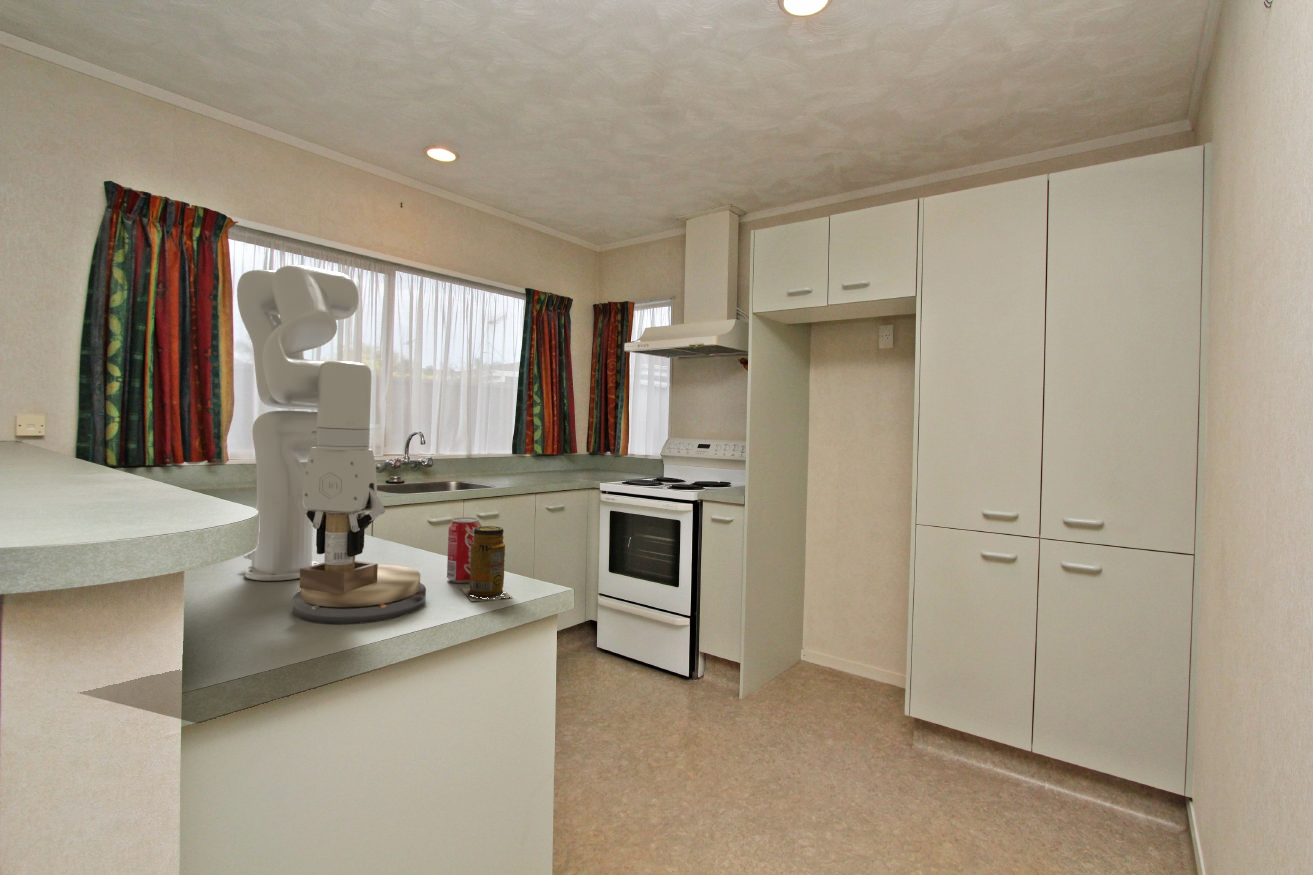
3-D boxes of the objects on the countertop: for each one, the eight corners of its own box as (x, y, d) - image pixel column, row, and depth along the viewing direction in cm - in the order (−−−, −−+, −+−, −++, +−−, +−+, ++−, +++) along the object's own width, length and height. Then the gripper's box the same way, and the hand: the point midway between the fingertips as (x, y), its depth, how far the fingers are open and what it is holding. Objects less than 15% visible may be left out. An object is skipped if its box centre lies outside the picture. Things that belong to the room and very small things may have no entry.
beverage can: (484, 577, 123) (487, 517, 123) (472, 585, 117) (474, 522, 117) (455, 575, 124) (457, 515, 123) (441, 583, 118) (443, 520, 117)
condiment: (500, 586, 117) (503, 524, 117) (512, 598, 110) (515, 532, 110) (461, 589, 114) (463, 525, 114) (470, 602, 107) (473, 534, 106)
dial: (359, 572, 114) (360, 544, 114) (441, 583, 109) (442, 554, 109) (273, 597, 97) (274, 565, 97) (366, 613, 92) (367, 578, 92)
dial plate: (262, 613, 96) (262, 598, 96) (358, 582, 115) (359, 570, 115) (366, 631, 90) (366, 616, 90) (449, 595, 110) (450, 583, 110)
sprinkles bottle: (357, 578, 101) (359, 497, 101) (352, 585, 97) (354, 501, 96) (326, 579, 100) (328, 496, 99) (319, 586, 95) (322, 501, 95)
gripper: (277, 437, 95) (274, 554, 95) (379, 443, 93) (375, 563, 93) (310, 436, 102) (307, 545, 103) (405, 441, 100) (402, 552, 101)
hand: (339, 552), depth 98 cm, fingers closed on sprinkles bottle, 4 cm apart
